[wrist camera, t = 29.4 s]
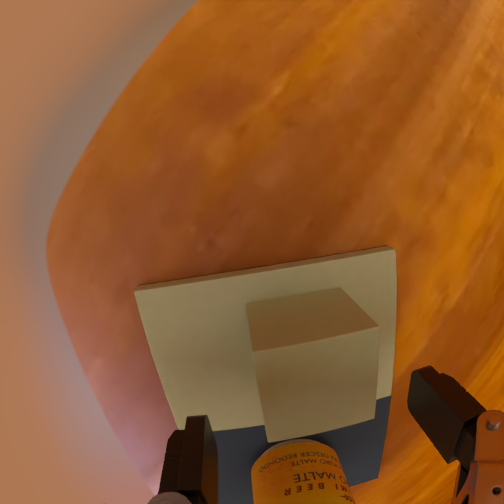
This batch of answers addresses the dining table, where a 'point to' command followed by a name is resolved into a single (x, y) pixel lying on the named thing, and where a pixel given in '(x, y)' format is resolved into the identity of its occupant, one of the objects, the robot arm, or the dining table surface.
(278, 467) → the beer can
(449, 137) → the dining table surface
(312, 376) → the sage cube
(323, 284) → the sorting mat
